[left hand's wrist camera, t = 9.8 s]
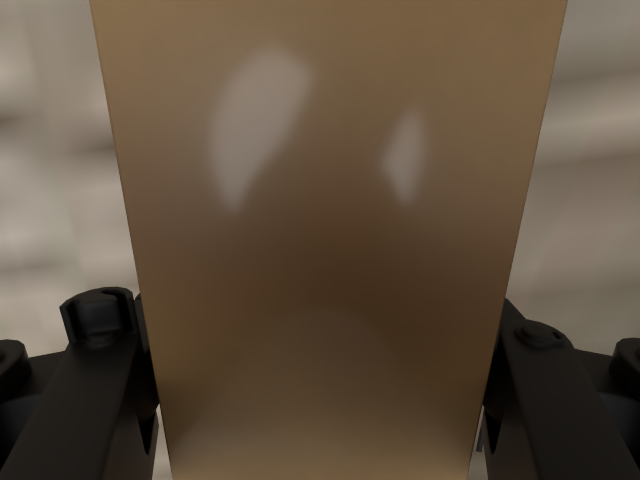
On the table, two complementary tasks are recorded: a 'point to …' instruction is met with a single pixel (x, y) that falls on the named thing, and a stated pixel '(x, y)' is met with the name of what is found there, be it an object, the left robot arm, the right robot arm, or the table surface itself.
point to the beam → (324, 220)
